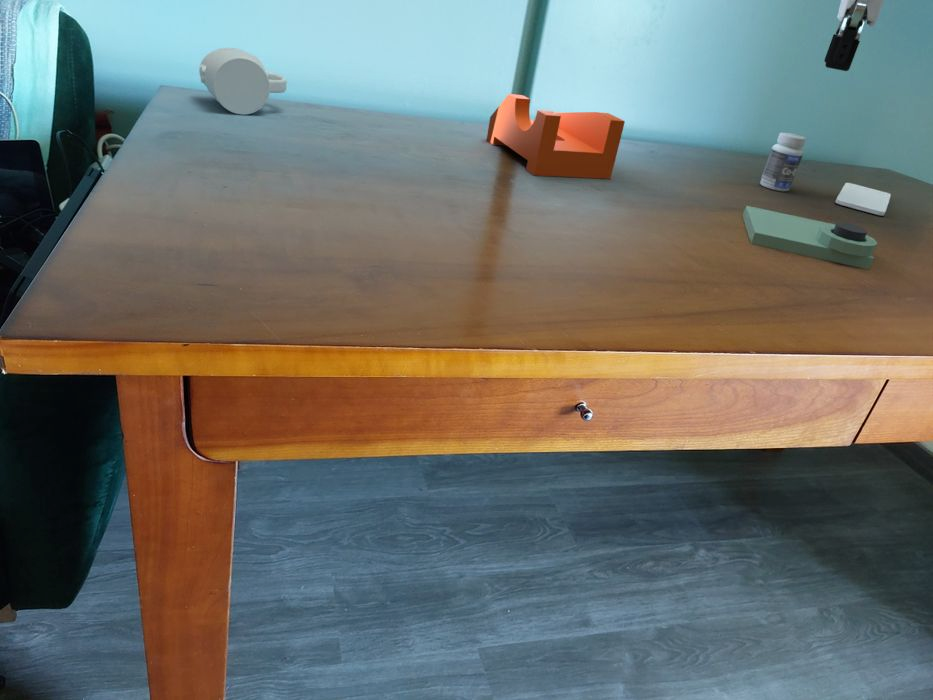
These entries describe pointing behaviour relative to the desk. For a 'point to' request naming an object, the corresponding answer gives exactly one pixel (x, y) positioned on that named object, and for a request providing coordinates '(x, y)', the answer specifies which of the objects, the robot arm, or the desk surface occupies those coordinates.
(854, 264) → the scale
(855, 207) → the smartphone
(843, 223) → the scale button
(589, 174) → the tape dispenser
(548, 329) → the desk surface
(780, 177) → the pill bottle
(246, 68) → the mug
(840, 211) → the desk surface
